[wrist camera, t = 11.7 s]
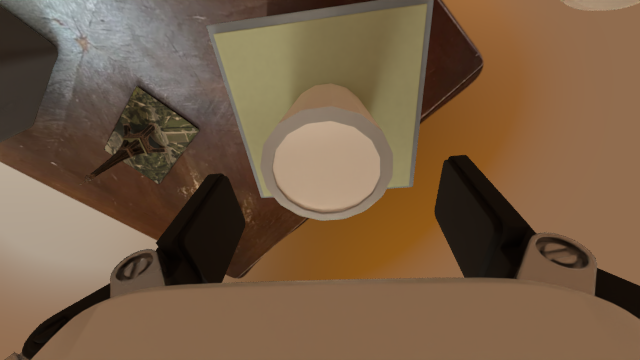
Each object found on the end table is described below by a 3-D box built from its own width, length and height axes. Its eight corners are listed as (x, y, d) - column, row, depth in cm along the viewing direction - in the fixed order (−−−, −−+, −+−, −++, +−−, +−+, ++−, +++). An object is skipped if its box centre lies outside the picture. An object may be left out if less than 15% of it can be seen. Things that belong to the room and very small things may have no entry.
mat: (425, 3, 15) (427, 3, 14) (407, 182, 22) (409, 186, 21) (215, 33, 16) (212, 33, 15) (265, 193, 23) (263, 196, 23)
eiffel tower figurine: (161, 183, 45) (107, 239, 34) (104, 149, 42) (23, 198, 31) (200, 129, 39) (149, 175, 28) (136, 82, 35) (49, 114, 24)
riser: (381, 2, 29) (434, -9, 14) (379, 116, 37) (412, 187, 22) (266, 18, 30) (205, 25, 16) (288, 125, 38) (261, 198, 23)
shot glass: (282, 159, 20) (263, 218, 15) (280, 69, 16) (252, 101, 11) (365, 165, 20) (379, 226, 15) (382, 77, 16) (411, 112, 11)
